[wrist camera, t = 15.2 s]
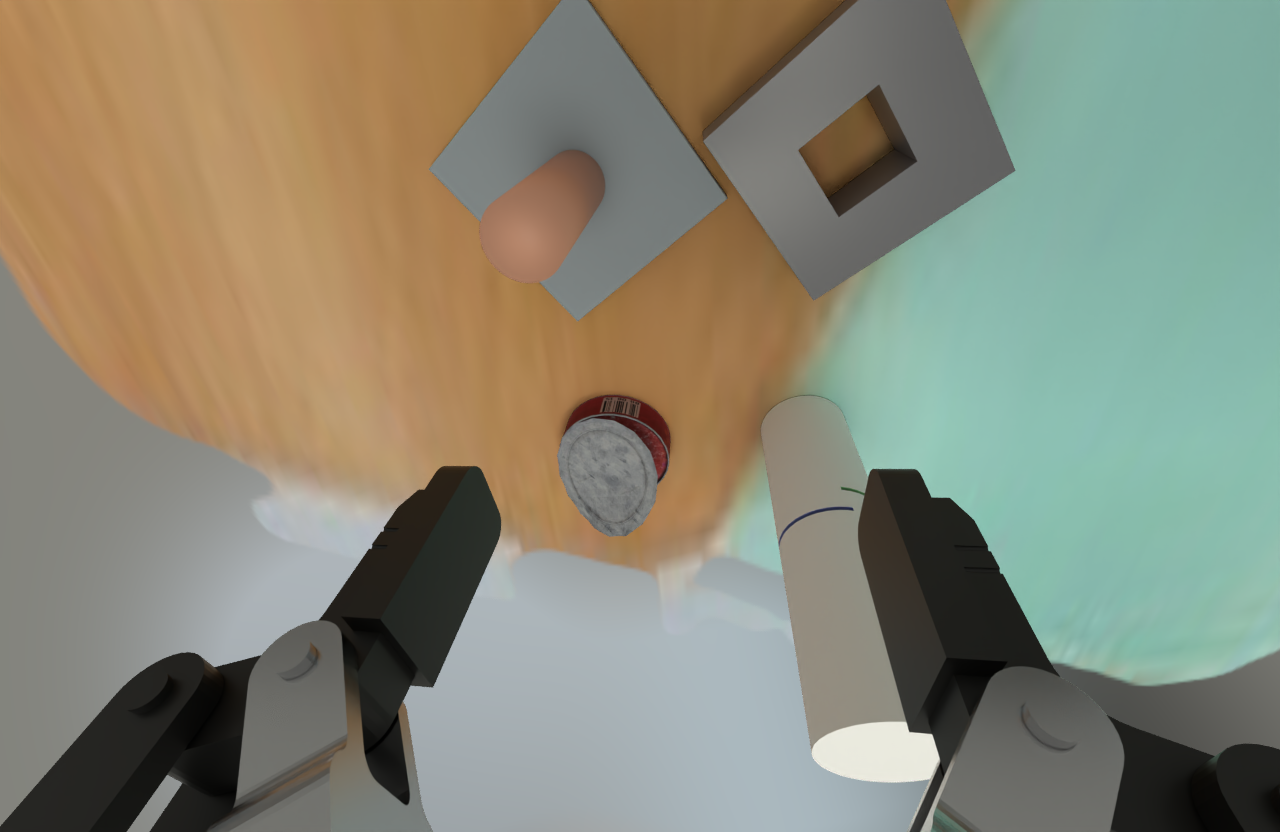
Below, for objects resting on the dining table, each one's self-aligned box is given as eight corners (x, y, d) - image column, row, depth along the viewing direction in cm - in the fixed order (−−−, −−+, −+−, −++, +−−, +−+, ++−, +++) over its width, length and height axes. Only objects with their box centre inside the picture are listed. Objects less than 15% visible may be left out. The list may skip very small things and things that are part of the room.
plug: (574, 134, 30) (517, 174, 21) (617, 188, 32) (583, 247, 22) (532, 179, 32) (462, 235, 23) (575, 228, 34) (526, 298, 24)
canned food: (603, 442, 53) (542, 508, 47) (587, 367, 46) (514, 434, 40) (697, 480, 47) (641, 561, 42) (695, 403, 41) (628, 486, 35)
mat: (577, -16, 27) (574, -17, 26) (726, 195, 32) (727, 198, 32) (433, 167, 33) (428, 169, 32) (579, 316, 39) (577, 321, 38)
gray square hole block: (893, -44, 25) (921, -58, 22) (981, 157, 30) (1015, 170, 27) (702, 131, 30) (702, 141, 27) (803, 277, 35) (813, 300, 32)
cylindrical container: (760, 398, 42) (817, 718, 22) (849, 392, 41) (994, 725, 21) (760, 460, 46) (807, 777, 26) (840, 457, 45) (954, 786, 25)
